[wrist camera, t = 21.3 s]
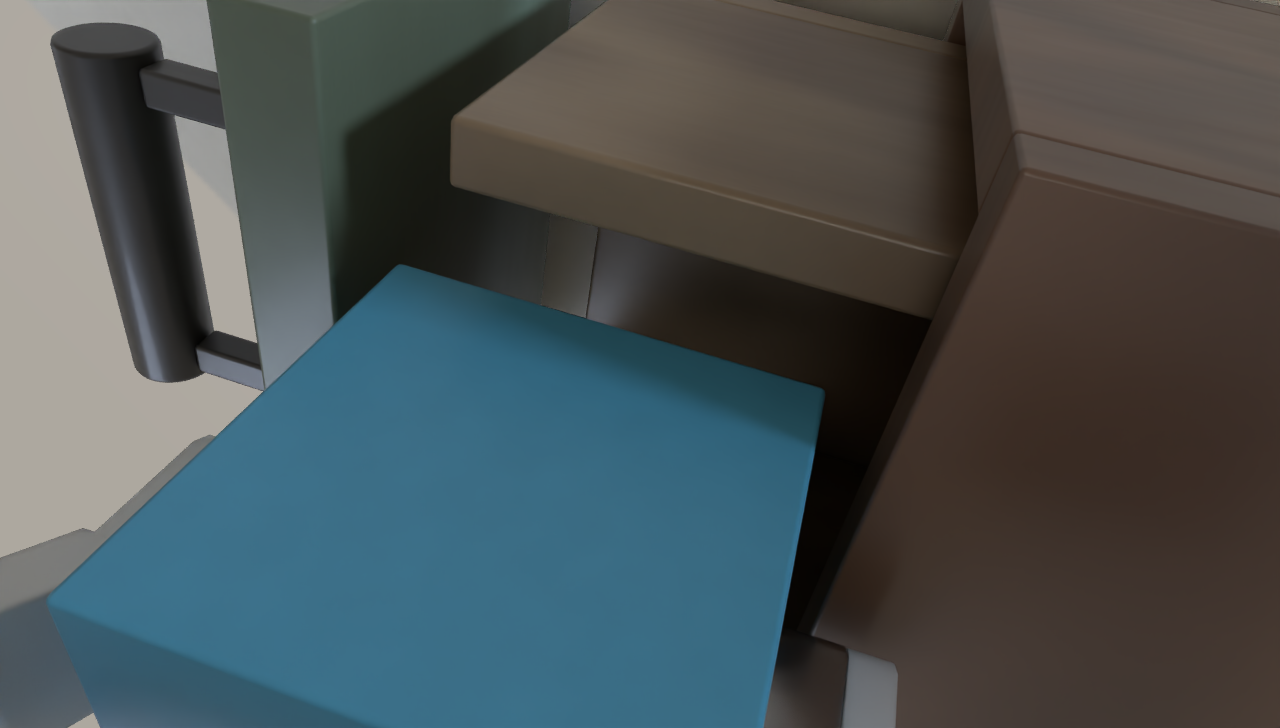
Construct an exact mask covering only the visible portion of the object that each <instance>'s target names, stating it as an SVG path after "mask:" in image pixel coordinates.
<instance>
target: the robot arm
mask: <svg viewBox="0 0 1280 728" xmlns="http://www.w3.org/2000/svg"><path fill="white" fill-rule="evenodd" d="M214 438H215V436H212V435H208V436H206V437H203V438H200V439H198V440H196V441H194V442H192V443H191V444H190V445H189V446H188V447H187V448H186V449H185V450H184V451H182V452H181V453H180V454H179V455H178V456H177V457H176V458H175V459H174V460H173V461H171V462H170V463H169V464H168V465H167V466H166V467H165V468H164V469H163V470H162V471H161V472H159V473H158V474H157V475H156V476H155V477H154V478H153V479H152V480H151V481H150V482H149V483H147V484H146V486H144V487H143V488H142V489H141V490H140V491H139V492H138V493H137V494H136V495H134V496H133V498H131V499H130V500H129V501H128V502H127V503H126V504H125V505H124V506H122V508H120V509H119V510H118V511H117V512H116V513H115V514H114V515H113V516H111V517H110V518H109V519H108V520H107V521H106V522H105V523H104V524H103V525H102V526H101V527H99V528H98V529H97V530H96V531H95V532H93V531H91V530H87V529H84V528H82V529H79V530H76V531H73V532H71V533H68V534H65V535H63V536H59V537H57V538H54V539H51V540H48V541H46V542H43V543H40V544H37V545H35V546H32V547H29V548H26V549H24V550H21V551H18V552H15V553H12V554H10V555H7V556H4V557H1V558H0V728H68V727H69V726H71V725H73V724H75V723H76V722H78V721H80V720H81V719H83V718H85V717H86V716H88V715H90V714H92V713H94V712H93V710H92V708H91V705H90V703H89V701H88V699H87V696H86V694H85V692H84V689H83V687H82V685H81V683H80V680H79V678H78V676H77V673H76V671H75V669H74V667H73V664H72V662H71V660H70V658H69V655H68V653H67V651H66V648H65V646H64V644H63V642H62V639H61V637H60V635H59V633H58V630H57V628H56V626H55V623H54V621H53V619H52V617H51V614H50V612H49V610H48V608H47V605H46V599H47V597H48V596H49V594H50V593H51V592H52V591H53V590H54V589H55V588H56V587H57V586H58V585H59V584H60V583H61V582H63V581H64V580H65V579H66V578H67V577H68V576H69V575H70V574H71V573H72V572H73V571H74V570H75V569H76V568H77V567H78V566H79V565H81V564H82V563H83V562H84V561H85V560H86V559H87V558H88V557H89V556H90V555H91V554H92V553H93V552H94V551H95V550H96V549H97V548H98V547H100V546H101V545H102V544H103V543H104V542H105V541H106V540H107V539H108V538H109V537H110V536H111V535H112V534H113V533H114V532H115V531H116V530H118V529H119V528H120V527H121V526H122V525H123V524H124V523H125V522H126V521H127V520H128V519H129V518H130V517H131V516H132V515H133V514H134V513H135V512H137V511H138V510H139V509H140V508H141V507H142V506H143V505H144V504H145V503H146V502H147V501H148V500H149V499H150V498H151V497H152V496H153V495H155V494H156V493H157V492H158V491H159V490H160V489H161V488H162V487H163V486H164V485H165V484H166V483H167V482H168V481H169V480H170V479H171V478H172V477H174V476H175V475H176V474H177V473H178V472H179V471H180V470H181V469H182V468H183V467H184V466H185V465H186V464H187V463H188V462H189V461H190V460H192V459H193V458H194V457H195V456H196V455H197V454H198V453H199V452H200V451H201V450H202V449H203V448H204V447H205V446H206V445H207V444H208V443H209V442H211V441H212V440H213V439H214ZM897 682H898V673H897V670H896V667H895V664H894V663H892V662H889V661H886V660H882V659H879V658H876V657H873V656H870V655H867V654H864V653H861V652H858V651H855V650H852V649H849V648H845V646H844V645H840V644H837V643H834V642H831V641H828V640H825V639H822V638H818V637H815V636H812V635H809V634H806V633H803V632H799V631H796V630H793V629H790V628H787V627H784V626H782V631H781V636H780V642H779V647H778V652H777V658H776V663H775V668H774V674H773V679H772V685H771V690H770V695H769V701H768V706H767V711H766V717H765V722H764V728H895V725H896V703H897Z"/></svg>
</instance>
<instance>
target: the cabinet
mask: <svg viewBox="0 0 1280 728" xmlns="http://www.w3.org/2000/svg"><path fill="white" fill-rule="evenodd" d="M943 41H946V42H950V43H954V44H959V45H963V46H966V53H967V66H968V80H969V93H970V106H971V120H972V133H973V146H974V159H975V173H976V186H977V199H978V213H979V215H978V218H977V220H976V222H975V224H974V227H973V229H972V231H971V234H970V236H969V238H968V240H967V243H966V245H965V247H964V250H963V252H962V254H961V256H960V259H959V261H958V263H957V266H956V268H955V270H954V272H953V275H952V277H951V279H950V281H949V284H948V286H947V288H946V291H945V293H944V295H943V297H942V300H941V302H940V304H939V307H938V309H937V311H936V313H935V316H934V318H933V320H932V323H931V325H930V327H929V329H928V332H927V334H926V336H925V338H924V341H923V343H922V345H921V348H920V350H919V352H918V354H917V357H916V359H915V361H914V364H913V366H912V368H911V370H910V373H909V375H908V377H907V380H906V382H905V384H904V386H903V389H902V391H901V393H900V395H899V398H898V400H897V402H896V405H895V407H894V409H893V411H892V414H891V416H890V418H889V421H888V423H887V425H886V427H885V430H884V432H883V434H882V437H881V439H880V441H879V443H878V446H877V448H876V450H875V452H874V455H873V457H872V459H871V462H870V464H869V466H868V468H867V471H866V473H865V475H864V478H863V480H862V482H861V484H860V487H859V489H858V491H857V494H856V496H855V498H854V500H853V503H852V505H851V507H850V509H849V512H848V514H847V516H846V519H845V521H844V523H843V525H842V528H841V530H840V532H839V535H838V537H837V539H836V541H835V544H834V546H833V548H832V551H831V553H830V555H829V557H828V560H827V562H826V564H825V567H824V569H823V571H822V573H821V576H820V578H819V580H818V582H817V585H816V587H815V589H814V592H813V594H812V596H811V598H810V601H809V603H808V605H807V608H806V610H805V612H804V614H803V617H802V619H801V621H800V624H799V626H798V628H797V630H796V631H799V632H803V633H806V634H809V635H812V636H815V637H818V638H822V639H825V640H828V641H831V642H834V643H837V644H840V645H844V646H845V648H849V649H852V650H855V651H858V652H861V653H864V654H867V655H870V656H873V657H876V658H879V659H882V660H886V661H889V662H892V663H894V664H895V667H896V670H897V673H898V682H897V703H896V725H895V728H1280V7H1279V6H1275V5H1270V4H1266V3H1261V2H1257V1H1252V0H958V1H957V4H956V7H955V9H954V12H953V15H952V18H951V20H950V23H949V26H948V29H947V31H946V34H945V37H944V40H943Z"/></svg>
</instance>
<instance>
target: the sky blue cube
mask: <svg viewBox="0 0 1280 728" xmlns="http://www.w3.org/2000/svg"><path fill="white" fill-rule="evenodd" d="M824 400H825V391H824V389H822V388H820V387H817V386H813V385H810V384H807V383H803V382H800V381H796V380H793V379H790V378H786V377H783V376H779V375H776V374H773V373H769V372H766V371H763V370H759V369H756V368H752V367H749V366H746V365H742V364H739V363H735V362H732V361H729V360H725V359H722V358H718V357H715V356H712V355H708V354H705V353H701V352H698V351H695V350H691V349H688V348H685V347H681V346H678V345H674V344H671V343H668V342H664V341H661V340H657V339H654V338H651V337H647V336H644V335H640V334H637V333H634V332H630V331H627V330H623V329H620V328H617V327H613V326H610V325H607V324H603V323H600V322H596V321H593V320H590V319H586V318H583V317H579V316H576V315H573V314H569V313H566V312H562V311H559V310H556V309H552V308H549V307H546V306H542V305H539V304H535V303H532V302H529V301H525V300H522V299H518V298H515V297H512V296H508V295H505V294H501V293H498V292H495V291H491V290H488V289H484V288H481V287H478V286H474V285H471V284H468V283H464V282H461V281H457V280H454V279H451V278H447V277H444V276H440V275H437V274H434V273H430V272H427V271H423V270H420V269H417V268H413V267H410V266H406V265H403V264H399V265H397V266H396V267H394V268H393V269H392V270H391V271H390V272H389V273H388V274H387V275H386V276H385V277H384V278H383V279H382V280H381V281H380V282H379V283H378V284H377V285H375V286H374V287H373V288H372V289H371V290H370V291H369V292H368V293H367V294H366V295H365V296H364V297H363V298H362V299H361V300H360V301H359V302H357V303H356V304H355V305H354V306H353V307H352V308H351V309H350V310H349V311H348V312H347V313H346V314H345V315H344V316H343V317H342V318H341V319H340V320H338V321H337V322H336V323H335V324H334V325H333V326H332V327H331V328H330V329H329V330H328V331H327V332H326V333H325V334H324V335H323V336H322V337H320V338H319V339H318V340H317V341H316V342H315V343H314V344H313V345H312V346H311V347H310V348H309V349H308V350H307V351H306V352H305V353H304V354H303V355H301V356H300V357H299V358H298V359H297V360H296V361H295V362H294V363H293V364H292V365H291V366H290V367H289V368H288V369H287V370H286V371H285V372H283V373H282V374H281V375H280V376H279V377H278V378H277V379H276V380H275V381H274V382H273V383H272V384H271V385H270V386H269V387H268V388H267V389H266V390H264V391H263V392H262V393H261V394H260V395H259V396H258V397H257V398H256V399H255V400H254V401H253V402H252V403H251V404H250V405H249V406H248V407H247V408H246V409H244V410H243V412H241V413H240V414H239V415H238V416H237V417H236V418H235V419H234V420H233V421H232V422H231V423H230V424H229V425H228V426H226V427H225V428H224V429H223V430H222V431H221V432H220V433H219V434H218V435H217V436H216V437H215V438H214V439H213V440H212V441H211V442H209V443H208V444H207V445H206V446H205V447H204V448H203V449H202V450H201V451H200V452H199V453H198V454H197V455H196V456H195V457H194V458H193V459H192V460H190V461H189V462H188V463H187V464H186V465H185V466H184V467H183V468H182V469H181V470H180V471H179V472H178V473H177V474H176V475H175V476H174V477H172V478H171V479H170V480H169V481H168V482H167V483H166V484H165V485H164V486H163V487H162V488H161V489H160V490H159V491H158V492H157V493H156V494H155V495H153V496H152V497H151V498H150V499H149V500H148V501H147V502H146V503H145V504H144V505H143V506H142V507H141V508H140V509H139V510H138V511H137V512H135V513H134V514H133V515H132V516H131V517H130V518H129V519H128V520H127V521H126V522H125V523H124V524H123V525H122V526H121V527H120V528H119V529H118V530H116V531H115V532H114V533H113V534H112V535H111V536H110V537H109V538H108V539H107V540H106V541H105V542H104V543H103V544H102V545H101V546H100V547H98V548H97V549H96V550H95V551H94V552H93V553H92V554H91V555H90V556H89V557H88V558H87V559H86V560H85V561H84V562H83V563H82V564H81V565H79V566H78V567H77V568H76V569H75V570H74V571H73V572H72V573H71V574H70V575H69V576H68V577H67V578H66V579H65V580H64V581H63V582H61V583H60V584H59V585H58V586H57V587H56V588H55V589H54V590H53V591H52V592H51V593H50V594H49V596H48V597H47V599H46V605H47V608H48V610H49V612H50V614H51V617H52V619H53V621H54V623H55V626H56V628H57V630H58V633H59V635H60V637H61V639H62V642H63V644H64V646H65V648H66V651H67V653H68V655H69V658H70V660H71V662H72V664H73V667H74V669H75V671H76V673H77V676H78V678H79V680H80V683H81V685H82V687H83V689H84V692H85V694H86V696H87V699H88V701H89V703H90V705H91V708H92V710H93V712H94V714H95V717H96V719H97V721H98V723H99V726H100V728H764V722H765V717H766V711H767V706H768V701H769V695H770V690H771V685H772V679H773V674H774V668H775V663H776V658H777V652H778V647H779V642H780V636H781V631H782V625H783V620H784V615H785V609H786V604H787V599H788V593H789V588H790V583H791V577H792V572H793V566H794V561H795V556H796V550H797V545H798V540H799V534H800V529H801V523H802V518H803V513H804V507H805V502H806V497H807V491H808V486H809V480H810V475H811V470H812V464H813V459H814V454H815V448H816V443H817V437H818V432H819V427H820V421H821V416H822V411H823V405H824Z"/></svg>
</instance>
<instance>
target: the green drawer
mask: <svg viewBox="0 0 1280 728" xmlns="http://www.w3.org/2000/svg"><path fill="white" fill-rule="evenodd" d="M570 5H571V0H207V6H208V12H209V19H210V26H211V33H212V39H213V46H214V53H215V60H216V66H217V73H216V72H212V71H209V70H205V69H201V68H198V67H194V66H190V65H187V64H183V63H179V62H176V61H172V60H168V59H164V57H163V51H162V46H161V41H160V40H159V38H158V37H157V35H156V34H154V33H153V32H151V31H149V30H147V29H144V28H141V27H137V26H133V25H127V24H120V23H88V24H81V25H76V26H71V27H68V28H65V29H62V30H60V31H58V32H56V33H55V34H54V35H53V36H52V38H51V44H50V45H51V49H52V52H53V56H54V60H55V64H56V68H57V72H58V75H59V79H60V83H61V87H62V91H63V94H64V98H65V102H66V106H67V110H68V113H69V117H70V121H71V125H72V129H73V133H74V137H75V140H76V144H77V148H78V152H79V156H80V159H81V163H82V167H83V171H84V175H85V179H86V182H87V186H88V190H89V194H90V197H91V202H92V205H93V209H94V212H95V217H96V220H97V224H98V228H99V232H100V236H101V240H102V244H103V247H104V251H105V255H106V259H107V262H108V266H109V270H110V274H111V278H112V282H113V286H114V289H115V293H116V297H117V300H118V305H119V309H120V312H121V316H122V320H123V324H124V328H125V332H126V335H127V339H128V343H129V347H130V350H131V354H132V358H133V362H134V366H135V368H136V370H137V371H138V372H139V373H140V374H141V375H142V376H144V377H146V378H147V379H150V380H153V381H158V382H167V383H170V382H171V383H172V382H181V381H186V380H190V379H193V378H196V377H198V376H200V375H202V374H204V373H209V374H211V375H215V376H218V377H221V378H224V379H227V380H230V381H233V382H236V383H239V384H242V385H245V386H249V387H252V388H255V389H258V390H261V391H264V390H266V389H267V388H268V387H269V386H270V385H271V384H272V383H273V382H274V381H275V380H276V379H277V378H278V377H279V376H280V375H281V374H282V373H283V372H285V371H286V370H287V369H288V368H289V367H290V366H291V365H292V364H293V363H294V362H295V361H296V360H297V359H298V358H299V357H300V356H301V355H303V354H304V353H305V352H306V351H307V350H308V349H309V348H310V347H311V346H312V345H313V344H314V343H315V342H316V341H317V340H318V339H319V338H320V337H322V336H323V335H324V334H325V333H326V332H327V331H328V330H329V329H330V328H331V327H332V326H333V325H334V324H335V323H336V322H337V321H338V320H340V319H341V318H342V317H343V316H344V315H345V314H346V313H347V312H348V311H349V310H350V309H351V308H352V307H353V306H354V305H355V304H356V303H357V302H359V301H360V300H361V299H362V298H363V297H364V296H365V295H366V294H367V293H368V292H369V291H370V290H371V289H372V288H373V287H374V286H375V285H377V284H378V283H379V282H380V281H381V280H382V279H383V278H384V277H385V276H386V275H387V274H388V273H389V272H390V271H391V270H392V269H393V268H394V267H396V266H397V265H399V264H403V265H406V266H410V267H413V268H417V269H420V270H423V271H427V272H430V273H434V274H437V275H440V276H444V277H447V278H451V279H454V280H457V281H461V282H464V283H468V284H471V285H474V286H478V287H481V288H484V289H488V290H491V291H495V292H498V293H501V294H505V295H508V296H512V297H515V298H518V299H522V300H525V301H529V302H532V303H535V304H539V305H541V299H542V289H543V278H544V268H545V258H546V248H547V238H548V228H549V218H550V214H554V215H557V216H561V217H564V218H568V219H572V220H575V221H579V222H582V223H586V224H589V225H593V226H597V227H598V232H597V239H596V247H595V254H594V261H593V268H592V275H591V283H590V290H589V297H588V304H587V312H586V319H590V320H593V321H596V322H600V323H603V324H607V325H610V326H613V327H617V328H620V329H623V330H627V331H630V332H634V333H637V334H640V335H644V336H647V337H651V338H654V339H657V340H661V341H664V342H668V343H671V344H674V345H678V346H681V347H685V348H688V349H691V350H695V351H698V352H701V353H705V354H708V355H712V356H715V357H718V358H722V359H725V360H729V361H732V362H735V363H739V364H742V365H746V366H749V367H752V368H756V369H759V370H763V371H766V372H769V373H773V374H776V375H779V376H783V377H786V378H790V379H793V380H796V381H800V382H803V383H807V384H810V385H813V386H817V387H820V388H822V389H824V391H825V400H824V405H823V411H822V416H821V421H820V427H819V432H818V437H817V443H816V448H815V454H814V459H813V464H812V470H811V475H810V480H809V486H808V491H807V497H806V502H805V507H804V513H803V518H802V523H801V529H800V534H799V540H798V545H797V550H796V556H795V561H794V566H793V572H792V577H791V583H790V588H789V593H788V599H787V604H786V609H785V615H784V620H783V625H782V626H784V627H787V628H790V629H793V630H797V628H798V626H799V624H800V621H801V619H802V617H803V614H804V612H805V610H806V608H807V605H808V603H809V601H810V598H811V596H812V594H813V592H814V589H815V587H816V585H817V582H818V580H819V578H820V576H821V573H822V571H823V569H824V567H825V564H826V562H827V560H828V557H829V555H830V553H831V551H832V548H833V546H834V544H835V541H836V539H837V537H838V535H839V532H840V530H841V528H842V525H843V523H844V521H845V519H846V516H847V514H848V512H849V509H850V507H851V505H852V503H853V500H854V498H855V496H856V494H857V491H858V489H859V487H860V484H861V482H862V480H863V478H864V475H865V473H866V471H867V468H868V466H869V464H870V462H871V459H872V457H873V455H874V452H875V450H876V448H877V446H878V443H879V441H880V439H881V437H882V434H883V432H884V430H885V427H886V425H887V423H888V421H889V418H890V416H891V414H892V411H893V409H894V407H895V405H896V402H897V400H898V398H899V395H900V393H901V391H902V389H903V386H904V384H905V382H906V380H907V377H908V375H909V373H910V370H911V368H912V366H913V364H914V361H915V359H916V357H917V354H918V352H919V350H920V348H921V345H922V343H923V341H924V338H925V336H926V334H927V332H928V329H929V327H930V325H931V323H932V320H933V318H934V316H935V313H936V311H937V309H938V307H939V304H940V302H941V300H942V297H943V295H944V293H945V291H946V288H947V286H948V284H949V281H950V279H951V277H952V275H953V272H954V270H955V268H956V266H957V263H958V261H959V259H960V256H961V254H962V252H963V250H964V247H965V245H966V243H967V240H968V238H969V236H970V234H971V231H972V229H973V227H974V224H975V222H976V220H977V218H978V215H979V213H978V199H977V186H976V173H975V159H974V146H973V133H972V120H971V106H970V93H969V80H968V66H967V53H966V46H963V45H959V44H954V43H950V42H946V41H942V40H938V39H933V38H929V37H925V36H921V35H916V34H912V33H908V32H904V31H900V30H895V29H891V28H887V27H883V26H879V25H874V24H870V23H866V22H862V21H857V20H853V19H849V18H845V17H841V16H836V15H832V14H828V13H824V12H820V11H815V10H811V9H807V8H803V7H798V6H794V5H790V4H786V3H782V2H777V1H773V0H607V1H606V2H604V3H603V4H602V5H600V6H599V7H598V8H596V9H595V10H594V11H592V12H591V13H590V14H588V15H587V16H586V17H584V18H583V19H582V20H580V21H579V22H578V23H576V24H575V25H574V26H572V27H571V28H570V29H568V25H569V15H570ZM174 115H176V116H180V117H183V118H187V119H190V120H194V121H197V122H201V123H205V124H208V125H212V126H215V127H219V128H222V129H226V134H227V141H228V148H229V154H230V161H231V168H232V175H233V181H234V188H235V195H236V202H237V208H238V215H239V222H240V229H241V235H242V242H243V249H244V255H245V262H246V269H247V276H248V283H249V289H250V296H251V303H252V310H253V317H254V323H255V330H256V337H257V343H255V342H252V341H248V340H245V339H242V338H239V337H235V336H233V335H229V334H226V333H223V332H220V331H214V328H213V323H212V317H211V312H210V306H209V302H208V296H207V290H206V285H205V279H204V274H203V268H202V263H201V258H200V252H199V247H198V241H197V236H196V231H195V225H194V219H193V214H192V209H191V203H190V198H189V193H188V187H187V181H186V176H185V171H184V165H183V160H182V154H181V149H180V143H179V138H178V133H177V127H176V122H175V116H174Z"/></svg>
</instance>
